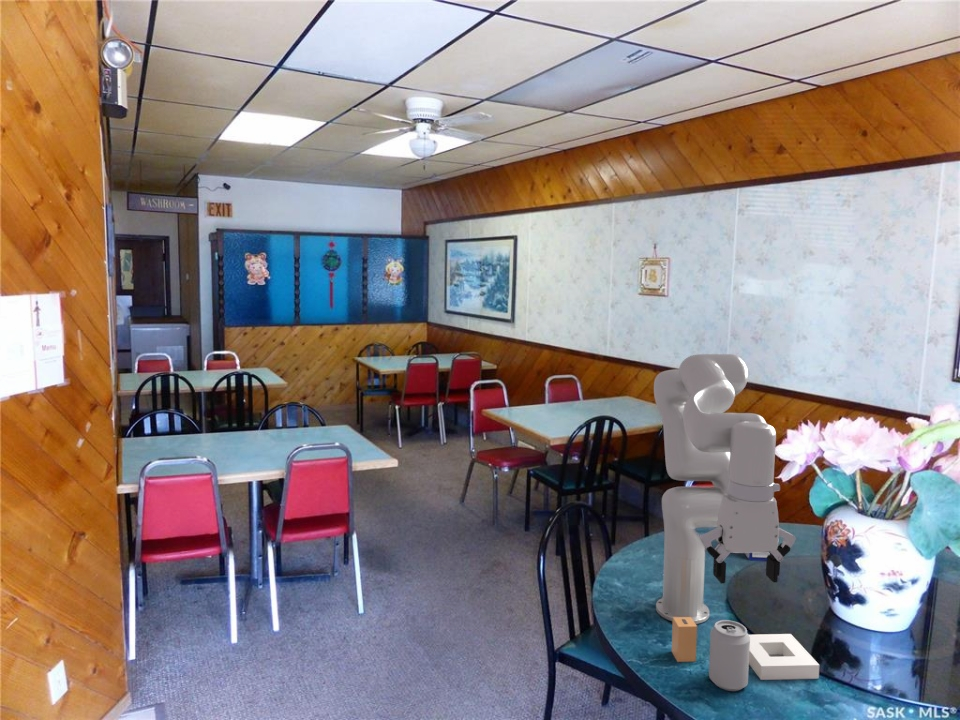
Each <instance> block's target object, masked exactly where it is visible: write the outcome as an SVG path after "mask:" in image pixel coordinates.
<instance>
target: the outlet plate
mask: <svg viewBox="0 0 960 720" xmlns="http://www.w3.org/2000/svg"><path fill="white" fill-rule="evenodd" d="M749 636H750V650H749V666H750V668H752V670H753V671H754V673H755V674H756V675H757V677H758V678H759V680H761V681H763V680H764V681H770V680H774V681H775V680H778V681H779V680H818V679H819V677H820V664H819V663H818V662H817V661H816V659H815V658H814V657H813V656H812V655H811V654H810V653H809V652H808V651H807V650H806V648H804V647H803V645H802V644H801V643H800V641H798V640H797V639H796V638H795V637H794V636H793V635H792V633H768V634H762V633H761V634H760V633H759V634H749Z"/></svg>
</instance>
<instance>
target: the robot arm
mask: <svg viewBox="0 0 960 720" xmlns="http://www.w3.org/2000/svg"><path fill="white" fill-rule="evenodd" d="M748 378H749V370H748V367H747V364H746V363H745V361H744V359H742V358H741V357H740V356H738V355H737V354H736V355H735V354H731V353H726V354H725V353H723V354H722V353H721V354H718V353H716V354H715V353H714V354H713V353H711V354H709V353H705V354H704V353H703V354H702V353H701V354H700V353H699V354H693V355H690V356H688V357H686V358H685V359H683V360H682V361H681V363H680V365H679V368H678V369H676V368H675V369H674V368H673V369H668V370H664V371H660V372H659V373H658V374H657V375H656V376H655V378H654V382H653V395H654V401H655V405H656V407H657V410H658V413H659V415H660V419H661V421H662V426H663V441H664V442H663V443H664V456H665V458H664V460H665V461H664V462H665V467H666V468H665V469H666V472H667V475H668V477H670V479H672V480H676V481H684V482H711V483H712V485H713V486H676V487H672V488H669V489H667V490H666V491H665V492H664V493H663V495H662V497H661V510H662V518H663V527H664V529H663V531H664V541H663V542H664V544H663V545H664V546H663V547H664V548H663V551H664V552H663V577H662V578H663V580H662V581H663V582H662V597H661V598H659V599H658V600H657V601H656V603H655V611H656V612H657V613H658V615H659V616H661V618H663V619H666V620H667V621H670V622H671V623H673V617H691V618H692V619H693V621H694V622H695V624H696V625H698V624H701V623H704V622H706V621H707V620H708V619H709V618H710V608H709V607H708V606H707V605H706V604H705V603H704V588H705V567H706V566H705V565H706V563H705V562H706V552H708V554H709V555H710V556H711V557H712V558H713V563H712V564H713V568H712V569H713V570H712V573H713V576H714V577H715V578H716V579H717V581H719V583H720V584H725V583H726V577H727V576H726V575H727V574H726V573H727V563H726V562H725V560H726V558H727V557H728V556H729V555H730V554H731V553H732V554H744V553H761V552H769V553H770V555H768V556H767V561H765V562H766V566H765V567H766V568H765V576H766V577H767V578H768V579H769V580H770V581H772V582H773V583H778V580H779V579H778V578H779V577H778V576H780V570H781V569H780V568H781V562H782V561H784V557H785V556H786V555H787V554H788V553H790V551H791V548H792V546H793V545H794V543H795V541H796V540H797V538H796V536H795V535H793V534H792V533H790V532H788V531H786V530H784V529H782V528H781V527H780V526H779V525H780V522H779V521H780V519H779V511H778V506H777V505H778V504H777V502H776V501H777V500H776V498H775V497H774V496H775V492H780V491H781V485H780V483H775V482H774V479H775V478H774V477H775V459H776V441H777V432H776V429H775V428H774V426H772V425H770V424H768V423H767V422H766V420H765V418H764V417H763V416H761V415H760V414H757V413H751V412H726V411H728V410H729V409H730V408H731V406H733V404H734V400H735V397H736V396H737V395H739V394H740V393H741V392H742V391H743V390H744V388H746V385H747V382H748ZM697 528H698V529H699V528H713V529H711V530H710V531H707V532H705V533H703V534H701V535H700V534H699V533H698V532H697V531H696V529H697ZM780 537H781V538H782V542H781V543H780V542H779V541H780ZM715 540H716V543H718V544H717V545H716V546H715V548H714V547H713V545H712V542H713V541H715ZM779 543H780V544H779Z"/></svg>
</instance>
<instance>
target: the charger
mask: <svg viewBox="0 0 960 720" xmlns="http://www.w3.org/2000/svg"><path fill="white" fill-rule="evenodd" d="M671 625H672V629H671V653H672V655H673V657H674V658H675V660H676V662H677V663H680V662H681V663H686V662H687V663H688V662H689V663H690V662H691V663H692V662H695V663H696V661H697V660H696V659H697V641H698V624H695V622H694V621H693V619H692V618H691V617H673V622H672V624H671Z"/></svg>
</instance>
